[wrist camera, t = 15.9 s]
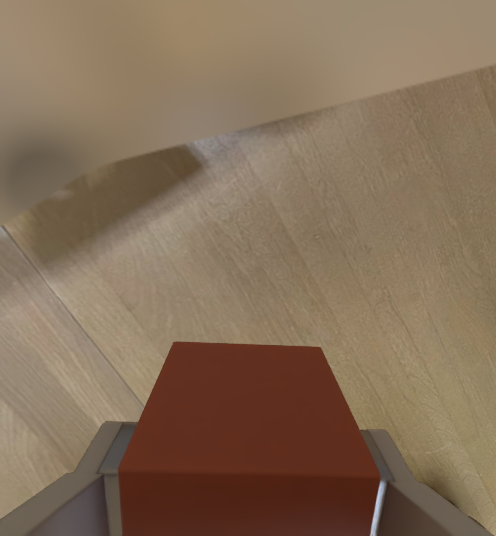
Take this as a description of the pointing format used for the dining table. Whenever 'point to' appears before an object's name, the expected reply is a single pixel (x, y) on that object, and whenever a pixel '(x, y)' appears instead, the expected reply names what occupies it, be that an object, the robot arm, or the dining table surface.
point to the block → (247, 448)
